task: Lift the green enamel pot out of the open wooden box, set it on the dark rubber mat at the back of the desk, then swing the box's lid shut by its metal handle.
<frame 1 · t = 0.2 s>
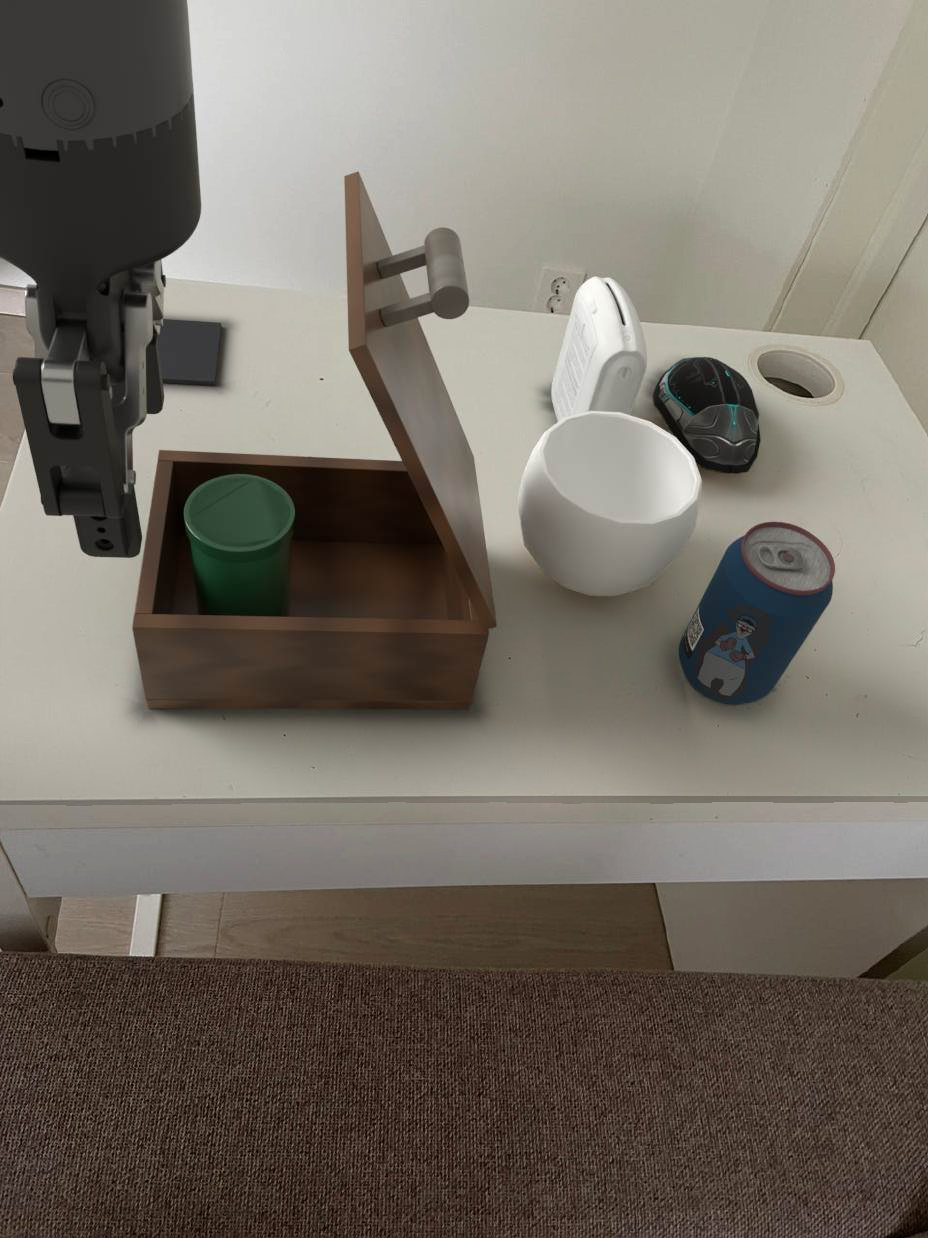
hand: (126, 475, 42), 23 cm above the table, tool pointing down, fingers open, 8 cm apart
green pot: (244, 608, 66), point 1 cm above the table, touching wooden box
soda can: (720, 673, 69), on the table
computer mouse: (701, 429, 86), on the table
cup: (585, 563, 74), on the table
wooden box: (313, 619, 67), on the table
photo printer: (579, 430, 84), on the table
mat: (168, 352, 83), on the table
lid: (462, 404, 54), point 19 cm above the table, hinge at 65.0°
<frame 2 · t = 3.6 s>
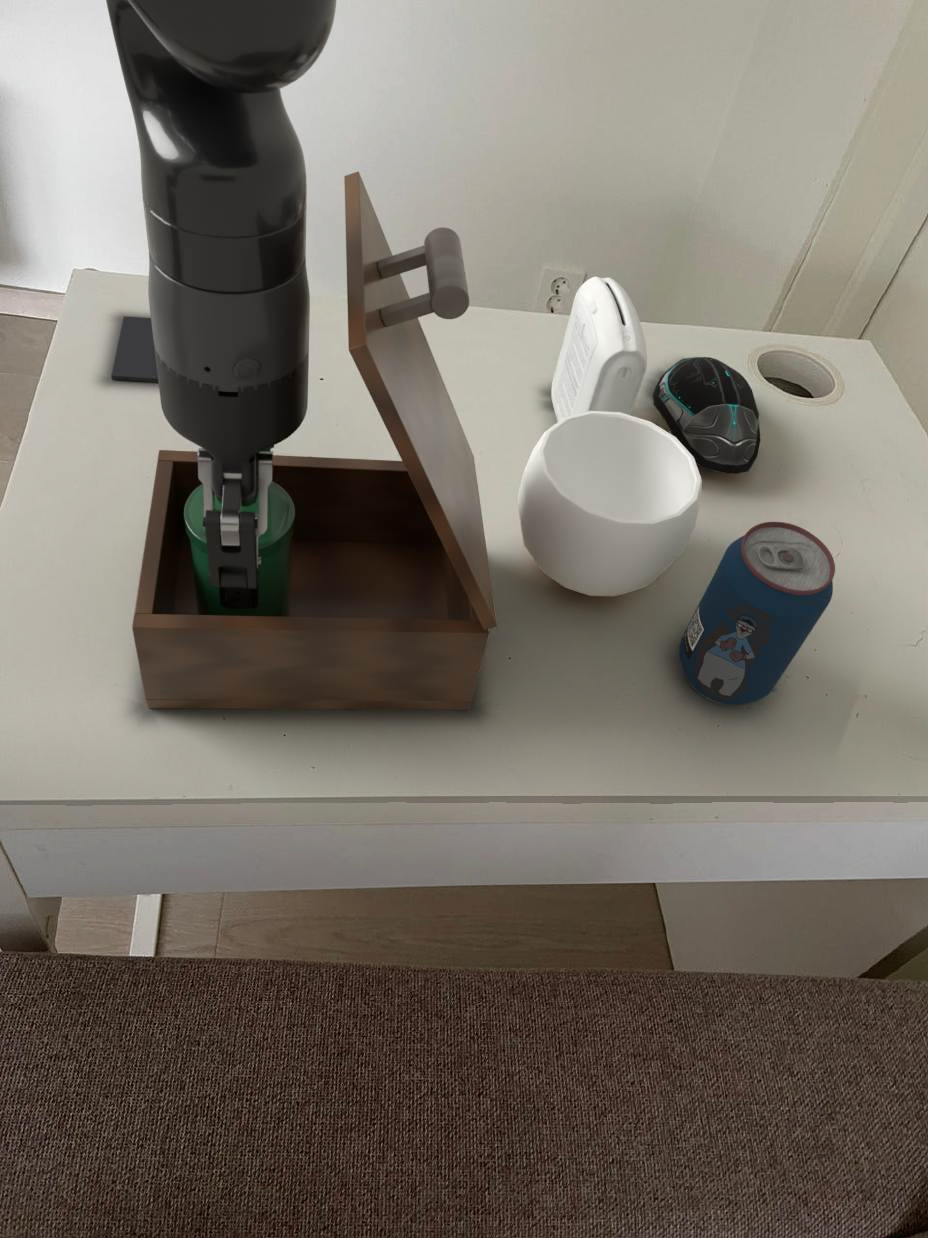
hand: (242, 560, 62), 6 cm above the table, tool pointing down, fingers closed on green pot, 6 cm apart
green pot: (244, 608, 66), point 1 cm above the table, touching gripper, wooden box
everything else where it was.
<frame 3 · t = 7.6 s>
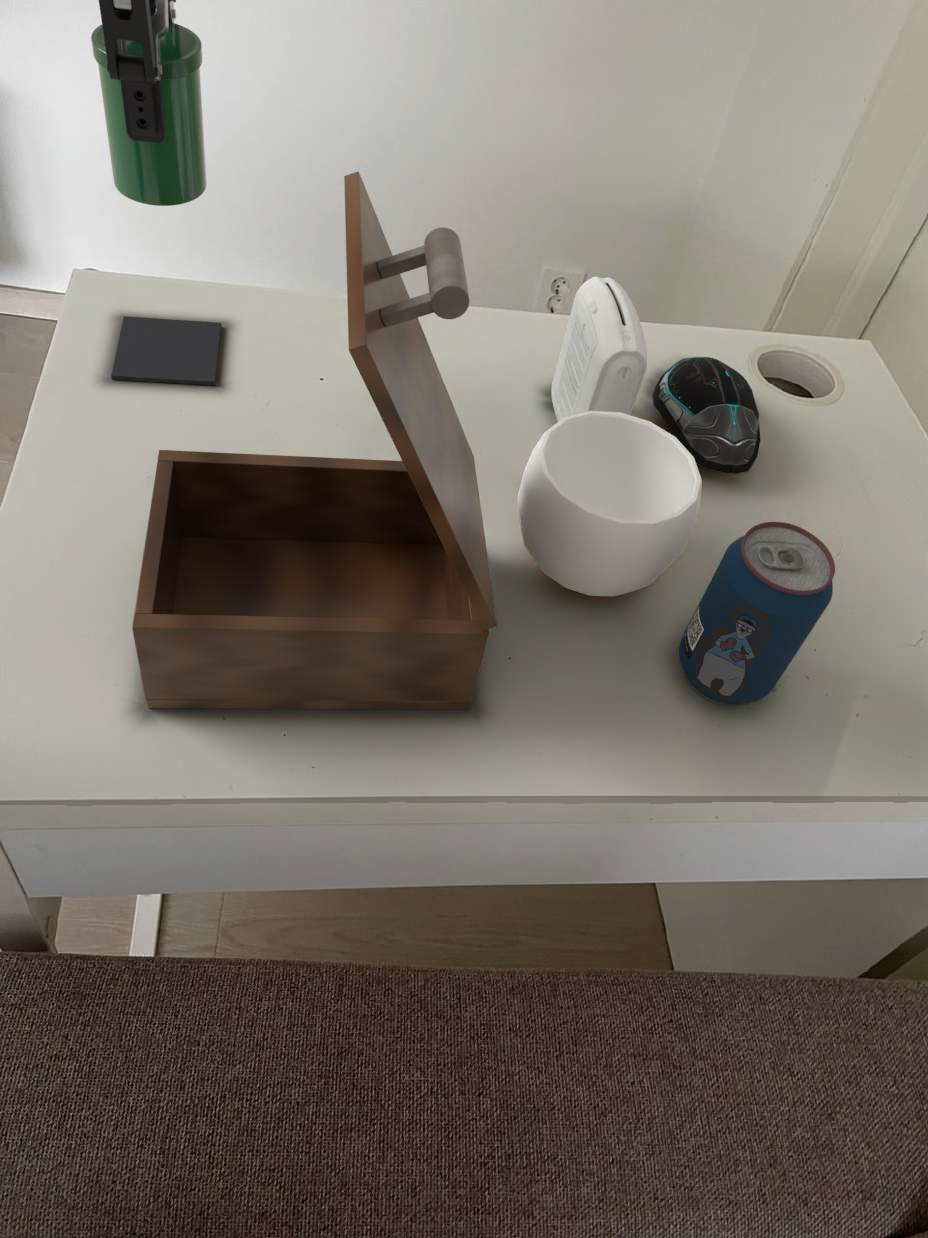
hand: (153, 111, 64), 22 cm above the table, tool pointing down, fingers closed on green pot, 6 cm apart
green pot: (160, 182, 67), point 17 cm above the table, touching gripper
everything else where it was.
when the fingers open (5 cm above the table, at t = 12.1 s): green pot stays where it is, resting on mat.
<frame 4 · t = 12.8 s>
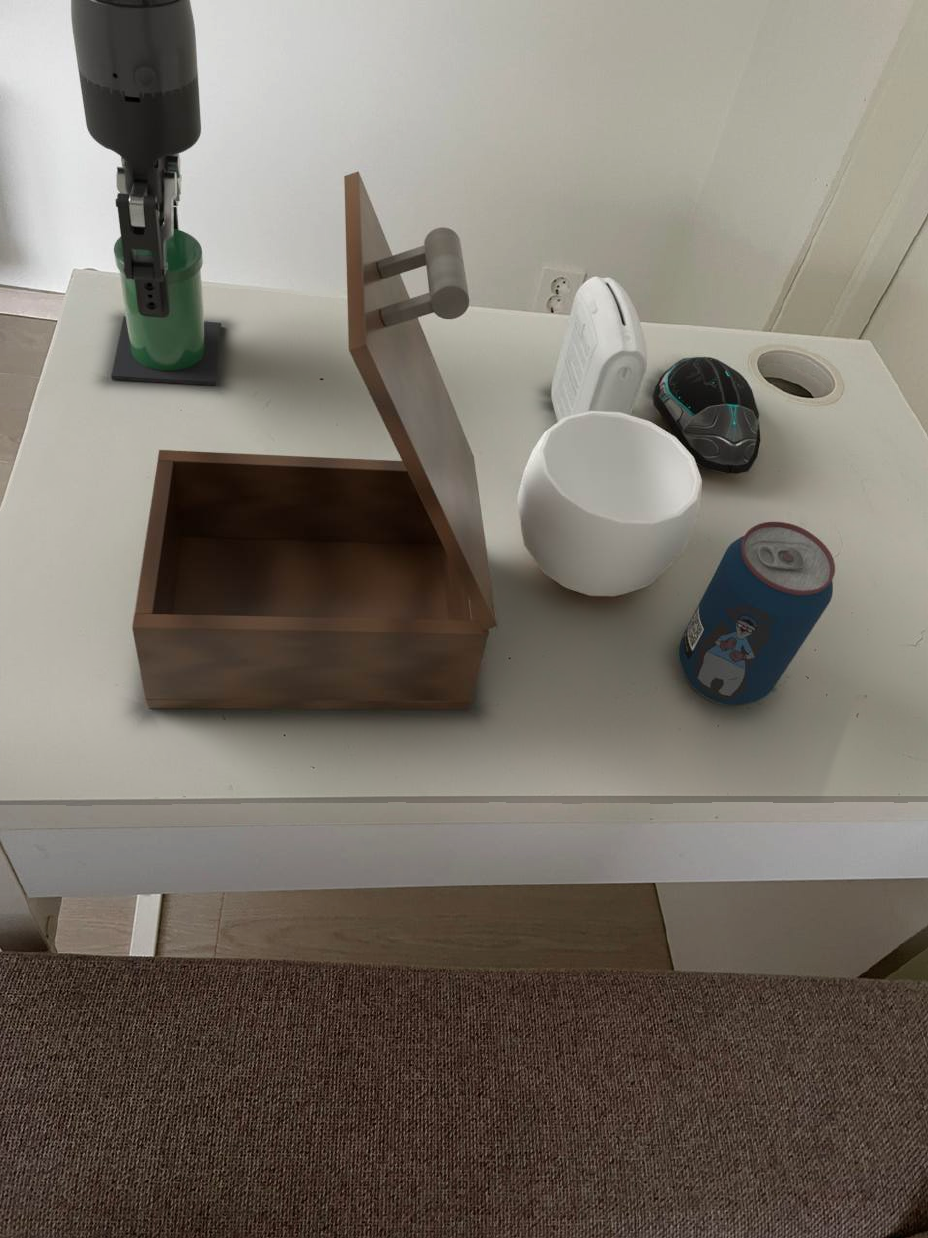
hand: (160, 281, 77), 7 cm above the table, tool pointing down, fingers open, 8 cm apart
green pot: (168, 348, 82), resting on mat
everything else where it was.
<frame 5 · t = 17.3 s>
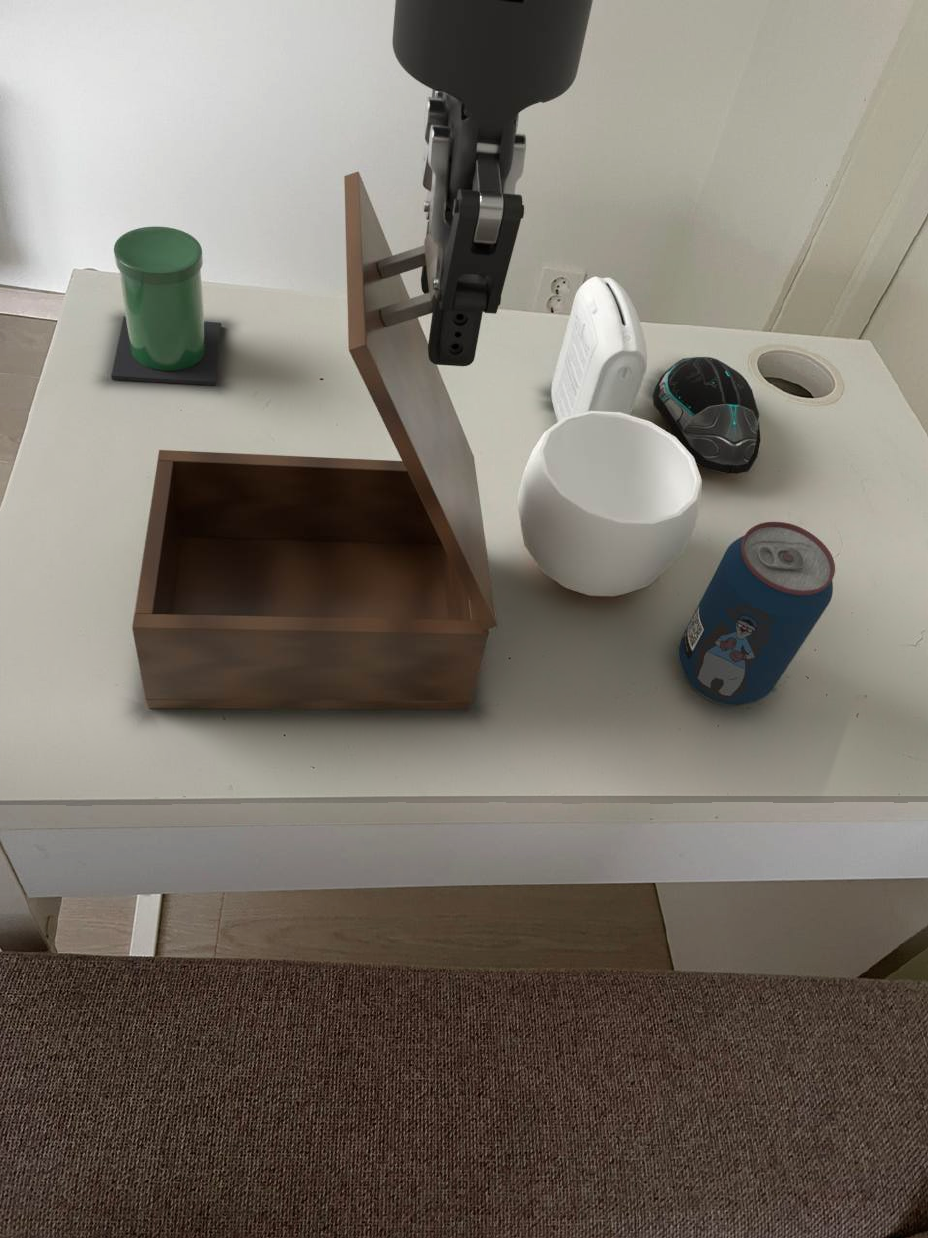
hand: (445, 324, 50), 24 cm above the table, tool pointing down, fingers closed on lid, 5 cm apart
lid: (462, 404, 54), point 19 cm above the table, hinge at 65.0°, touching gripper
everything else where it was.
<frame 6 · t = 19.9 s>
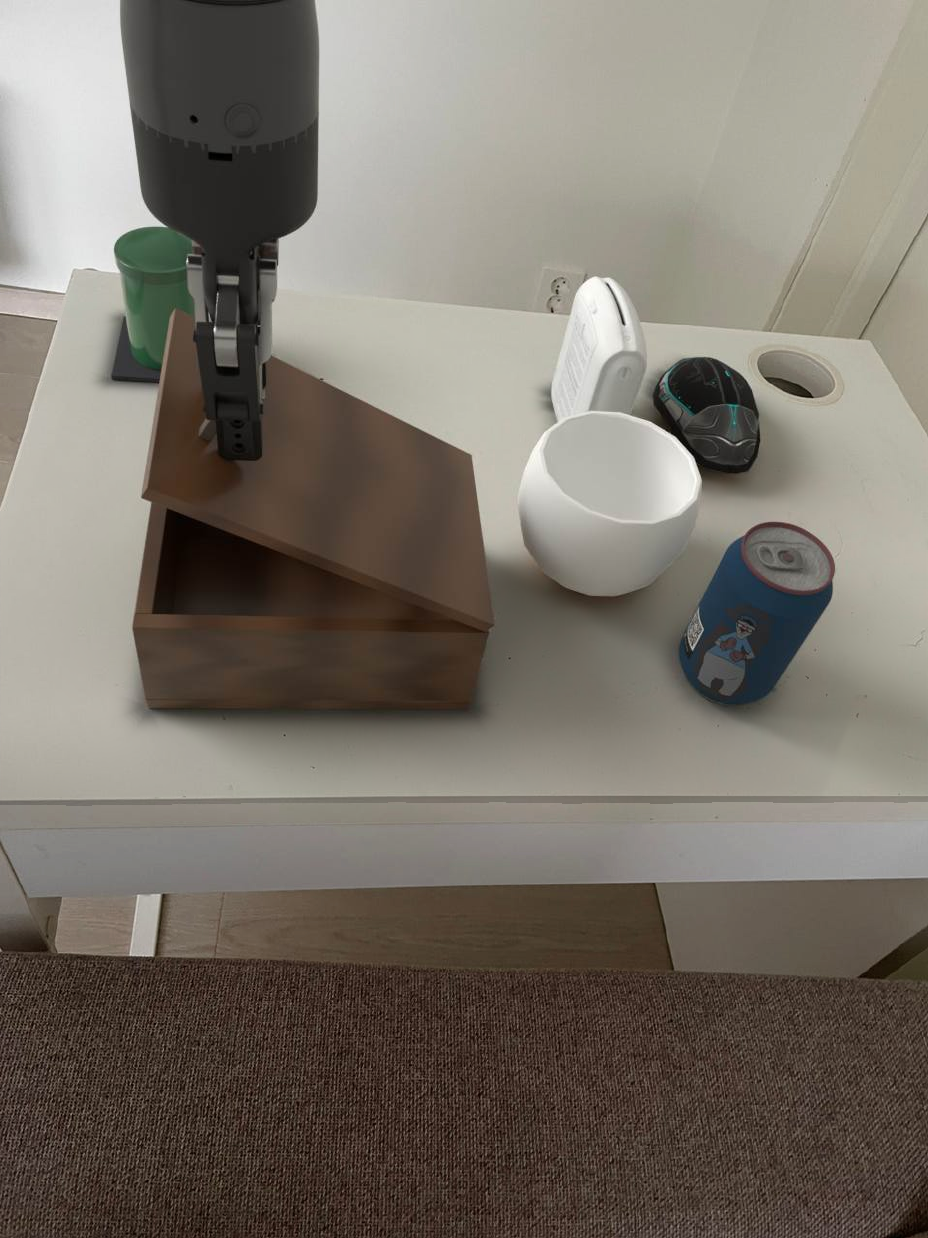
hand: (243, 418, 53), 17 cm above the table, tool pointing down, fingers closed on lid, 5 cm apart
lid: (353, 449, 56), point 15 cm above the table, hinge at 28.2°, touching gripper
everything else where it was.
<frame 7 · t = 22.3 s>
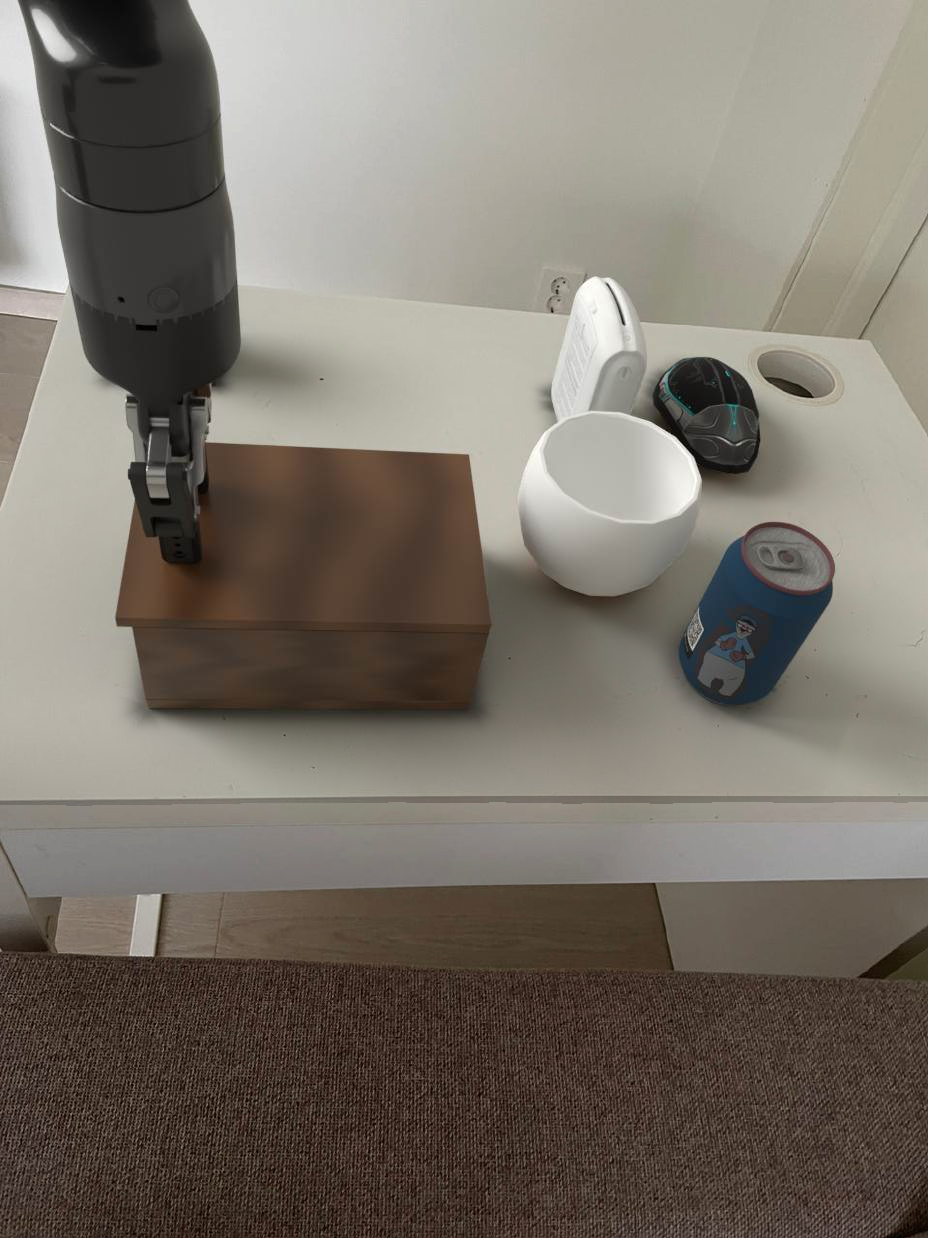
hand: (186, 522, 59), 9 cm above the table, tool pointing down, fingers closed on lid, 5 cm apart
lid: (310, 507, 59), point 11 cm above the table, hinge at -0.1°, touching gripper
everything else where it was.
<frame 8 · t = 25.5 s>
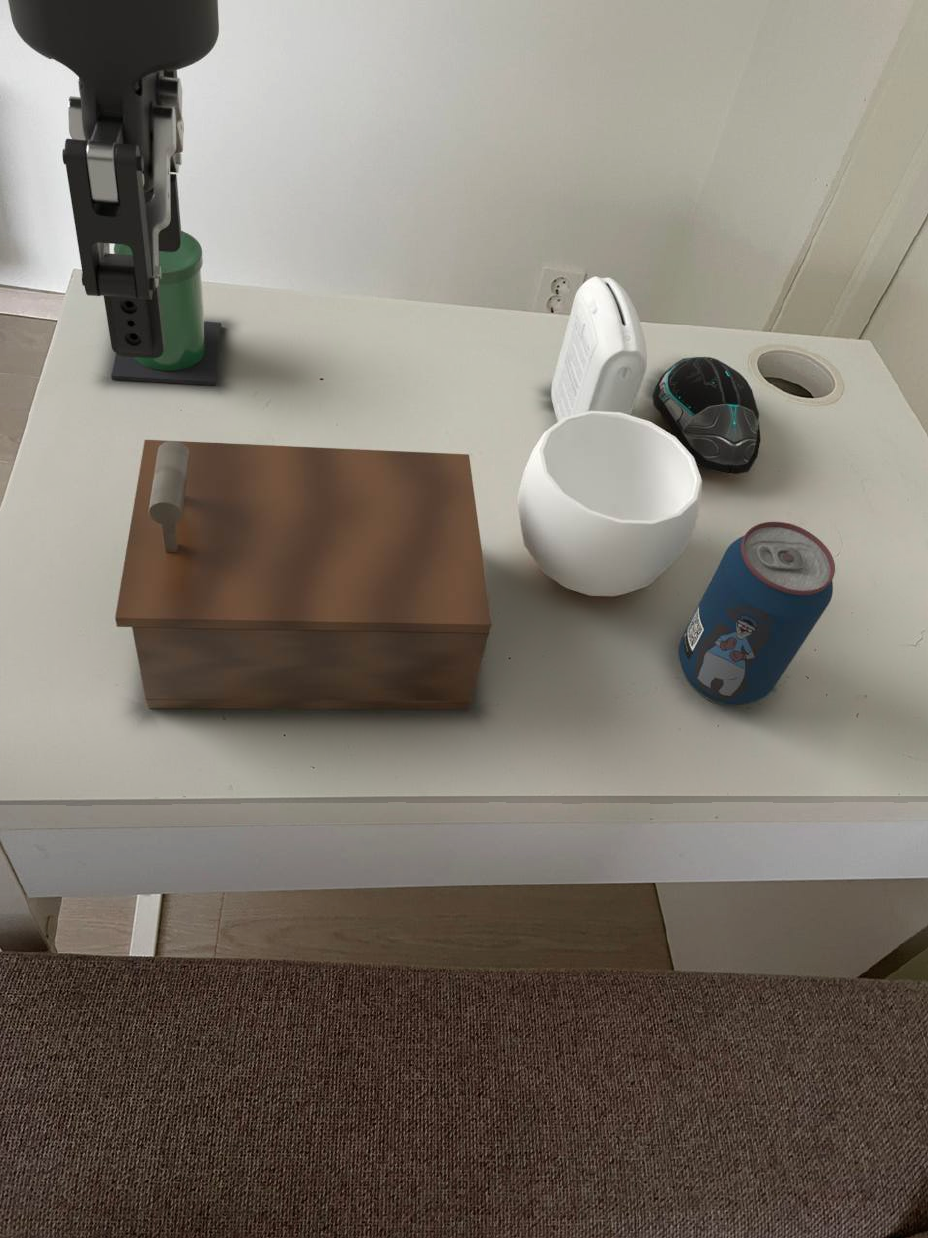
hand: (149, 297, 47), 24 cm above the table, tool pointing down, fingers open, 8 cm apart
lid: (310, 507, 59), point 11 cm above the table, hinge at -0.1°, touching wooden box
everything else where it was.
at the end: green pot 0.1 cm off-centre on the mat, point 0.4 cm above the mat's base; green pot tilted 0°; lid at +0° (first picture: +65°) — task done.
